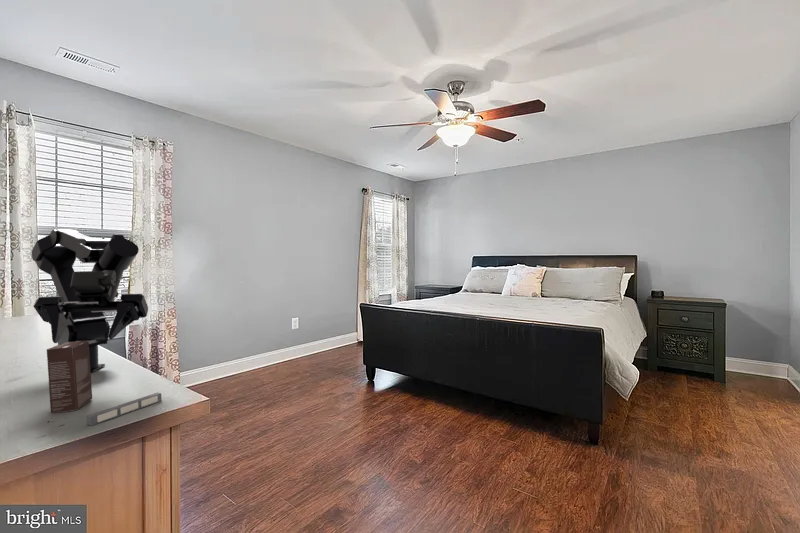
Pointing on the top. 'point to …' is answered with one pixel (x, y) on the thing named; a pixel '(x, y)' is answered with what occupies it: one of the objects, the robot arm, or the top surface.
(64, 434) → the top surface
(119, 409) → the rail
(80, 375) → the box
